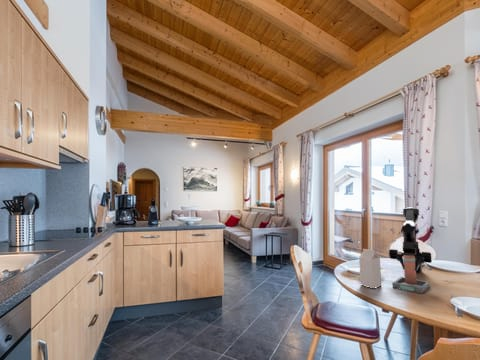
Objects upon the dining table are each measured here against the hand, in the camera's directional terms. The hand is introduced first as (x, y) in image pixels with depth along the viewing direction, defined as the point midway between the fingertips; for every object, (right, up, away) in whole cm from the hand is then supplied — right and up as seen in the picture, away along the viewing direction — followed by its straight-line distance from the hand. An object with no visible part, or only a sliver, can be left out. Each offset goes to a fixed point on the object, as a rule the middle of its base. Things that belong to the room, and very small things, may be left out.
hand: (409, 269), depth 134 cm
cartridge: (+1, -7, +1) cm, 7 cm away
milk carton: (-18, -10, +4) cm, 21 cm away
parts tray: (+1, -9, +1) cm, 9 cm away
